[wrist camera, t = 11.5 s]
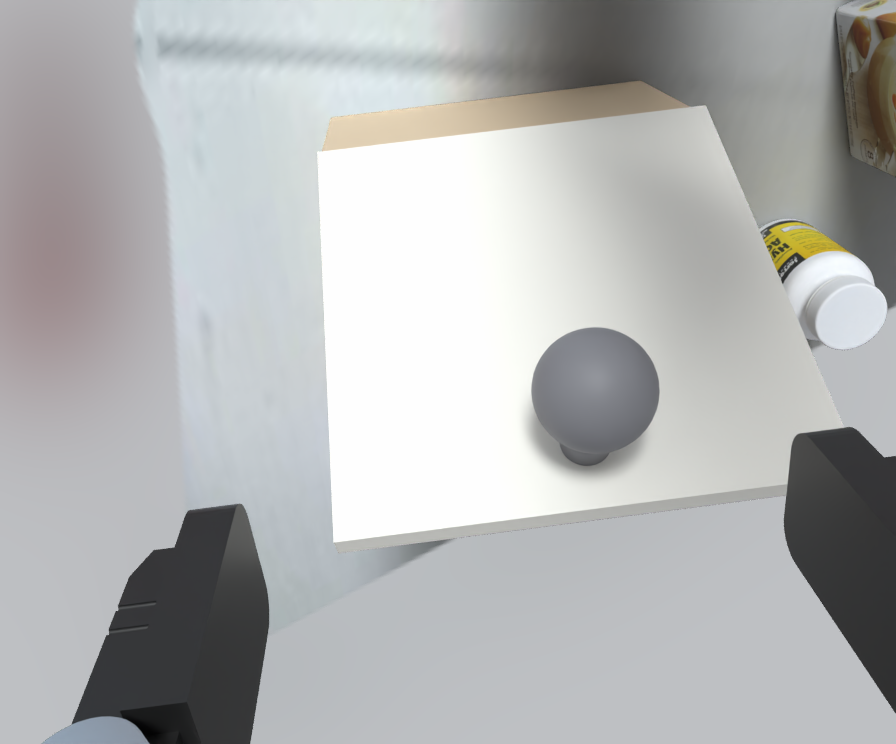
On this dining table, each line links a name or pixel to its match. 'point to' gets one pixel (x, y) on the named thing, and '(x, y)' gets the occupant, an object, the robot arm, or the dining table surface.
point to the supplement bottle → (825, 285)
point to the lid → (552, 331)
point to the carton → (496, 114)
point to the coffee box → (870, 79)
